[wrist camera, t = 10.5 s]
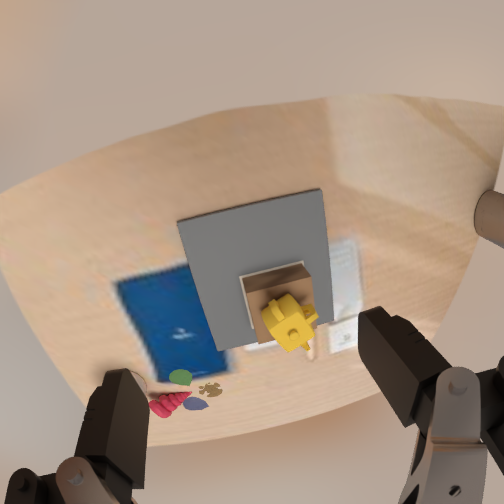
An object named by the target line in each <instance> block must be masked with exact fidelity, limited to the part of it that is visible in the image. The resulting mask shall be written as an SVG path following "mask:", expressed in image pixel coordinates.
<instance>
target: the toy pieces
mask: <svg viewBox="0 0 504 504" xmlns="http://www.w3.org/2000/svg"><path fill="white" fill-rule="evenodd" d="M169 379H170V380H171V381H172V383H175V384H179V385H187V386H190V383H191V381H192V374H191V373H190V372H189V371H187V370H183V369H181V370H175V371H173V372H172V373H171V374H170V375H169ZM208 384H210V383H208ZM219 386H220V385H219V384H218V383H214V385H207V384H206V385H205V388H204V387H202V386H200V387H199V388H200V389H203V388H204V389H203V390H202V391H199V393H200V394H204V391H207V393H210V394H209V395H208V396H207V397H215V396H218V395H220V394H221V393H222V389H218V388H216V387H219ZM191 393H192V392H183V393H182V392H180V393H175V395H173V394H169V395H168V396H166V395H161V396H160V397H159V402H158V401H156V400H152V401H150V402H149V407H150V408H151V410H152V411H153V412H154V413H156V414H157V415H158V416H160V417H162V418H167V417H169V416H170V415H171V414H172V411H174V410H175V409H176V408H177V406H179V405H181V403H182V402H183V401H184V402H183V406H184V407H185V408H186V409H188V410H202V409H204V408H206V407H209V406H208V404H207V403H206V402H205V401H204V400H201V399H200V398H196V397H189V398H187V397H188V396H189V395H190V394H191ZM186 398H187V399H186Z"/></svg>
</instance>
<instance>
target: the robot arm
mask: <svg viewBox="0 0 504 504" xmlns="http://www.w3.org/2000/svg"><path fill="white" fill-rule="evenodd" d="M475 229H476V232H477V233H478V235H480V236H481V237H483V238H485V239H487V240H489V241H491V242H493V243H494V244H496V245H498V246H500V247H502V248H504V194H501V193H498V192H496V191H492V190H489V191H487V192H485V193H484V194H483V195H482V197H481V198H480V200H479V202H478V205H477V208H476V212H475ZM358 351H359V355H360V358H361V360H362V362H363V363H364V365H365V366H366V368H367V369H368V371H369V373H370V374H371V376H372V377H373V379H374V380H375V382H376V383H377V385H378V386H379V388H380V389H381V391H382V392H383V394H384V396H385V397H386V399H387V400H388V402H389V404H390V405H391V407H392V408H393V410H394V411H395V413H396V415H397V416H398V418H399V419H400V421H401V423H402V424H403V426H404V427H405V428H406V427H408V426H410V425H412V424H414V423H416V424H417V426H418V428H419V430H418V433H417V439H416V444H415V448H414V453H413V458H412V462H411V466H410V470H409V474H408V478H407V481H406V484H405V486H404V488H403V491H402V493H401V496H400V499H399V502H398V504H482V499H483V492H484V485H485V476H486V466H487V449H488V450H489V452H490V454H491V455H492V457H493V458H494V460H495V462H496V463H497V465H498V467H499V468H500V470H501V472H502V473H503V475H504V356H503V357H502V358H501V359H500V361H499V364H498V366H497V368H494V369H490V370H487V371H483V372H480V373H474V372H472V371H471V370H469V369H467V368H464V367H452V366H451V365H450V364H449V363H448V362H447V361H446V359H444V357H443V356H442V355H441V354H440V353H439V352H438V351H437V350H436V349H435V348H434V346H432V344H431V343H430V342H429V341H428V340H427V339H425V337H424V336H423V335H422V334H421V333H420V332H418V330H417V329H416V328H415V327H414V326H413V324H412V323H411V322H410V321H408V320H406V319H404V318H402V317H400V316H398V315H395V316H393V317H391V316H390V315H389V314H388V313H387V312H386V311H385V310H384V309H383V308H382V307H381V306H378V307H375V308H372V309H369V310H366V311H363V312H360V313H359V316H358ZM86 410H87V411H86V412H85V416H84V421H83V423H82V427H81V430H80V434H79V438H78V442H77V446H76V450H75V455H74V457H71V458H68V459H66V460H64V461H63V462H62V463H61V464H60V465H59V467H58V469H57V472H56V473H52V474H48V475H43V476H37V475H36V474H35V473H34V472H33V471H31V470H30V469H27V468H21V469H18V470H17V471H15V472H14V473H13V475H12V476H11V478H10V480H9V484H8V488H7V493H6V498H5V503H4V504H137V502H136V501H135V499H134V498H133V497H132V489H144V478H145V461H146V448H147V435H148V424H149V414H150V409H149V403H148V400H147V398H146V396H145V394H144V393H143V391H142V390H141V388H140V386H139V385H138V383H137V382H136V380H135V378H134V377H133V375H132V373H131V372H130V371H129V370H128V369H126V368H125V369H119V370H111V371H107V372H106V373H105V376H104V380H103V383H102V386H99V387H97V388H96V390H95V391H94V392H93V394H92V395H91V396H90V398H89V402H88V405H87V408H86ZM480 438H481V439H482V441H483V443H482V442H481V441H480Z"/></svg>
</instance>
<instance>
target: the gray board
mask: <svg viewBox="0 0 504 504" xmlns="http://www.w3.org/2000/svg"><path fill="white" fill-rule="evenodd" d="M177 226H178V229H179V233H180V236H181V239H182V243H183V246H184V250H185V253H186V256H187V260H188V263H189V266H190V269H191V273H192V276H193V279H194V282H195V285H196V288H197V291H198V295H199V298H200V301H201V304H202V307H203V310H204V313H205V316H206V319H207V322H208V324H209V327H210V330H211V333H212V336H213V339H214V342H215V344H216V347H217V350H218V351H222V350H226V349H231V348H235V347H239V346H243V345H247V344H251V343H255V342H258V340H257V337H256V333H255V329H254V326H253V322H252V318H251V314H250V310H249V305H248V301H247V297H246V293H245V289H244V285H243V281H242V278H245V277H249V276H253V275H257V274H261V273H265V272H269V271H273V270H277V269H280V268H284V267H288V266H292V265H296V264H300V263H302V264H303V266H304V267H305V268H306V270H307V271H308V273H309V274H310V275H311V277H312V286H313V295H314V304H315V310H316V312H317V314H318V316H319V317H318V318H317V319H316V324H317V325H320V324H324V323H327V322H330V321H333V320H334V311H333V295H332V281H331V269H330V258H329V247H328V238H327V228H326V220H325V211H324V203H323V195H322V190H321V189H316V190H311V191H307V192H302V193H297V194H292V195H288V196H283V197H278V198H274V199H269V200H265V201H260V202H256V203H251V204H247V205H243V206H238V207H234V208H230V209H226V210H222V211H218V212H213V213H209V214H205V215H201V216H197V217H193V218H189V219H185V220H182V221H178V222H177Z"/></svg>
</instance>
